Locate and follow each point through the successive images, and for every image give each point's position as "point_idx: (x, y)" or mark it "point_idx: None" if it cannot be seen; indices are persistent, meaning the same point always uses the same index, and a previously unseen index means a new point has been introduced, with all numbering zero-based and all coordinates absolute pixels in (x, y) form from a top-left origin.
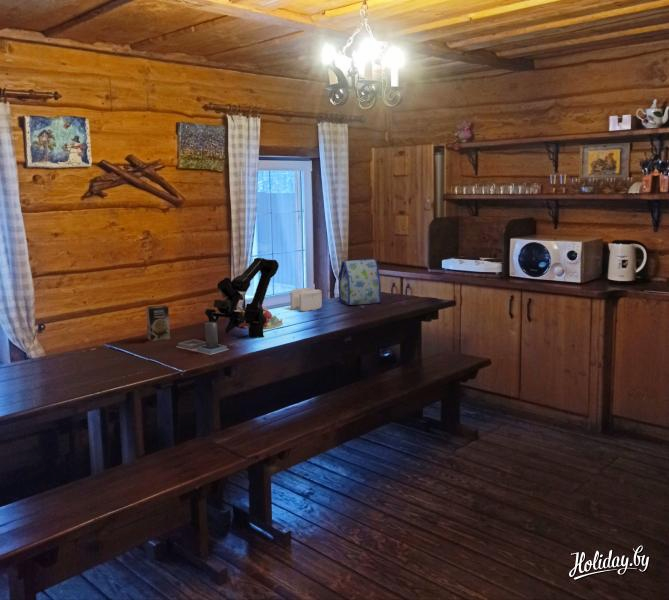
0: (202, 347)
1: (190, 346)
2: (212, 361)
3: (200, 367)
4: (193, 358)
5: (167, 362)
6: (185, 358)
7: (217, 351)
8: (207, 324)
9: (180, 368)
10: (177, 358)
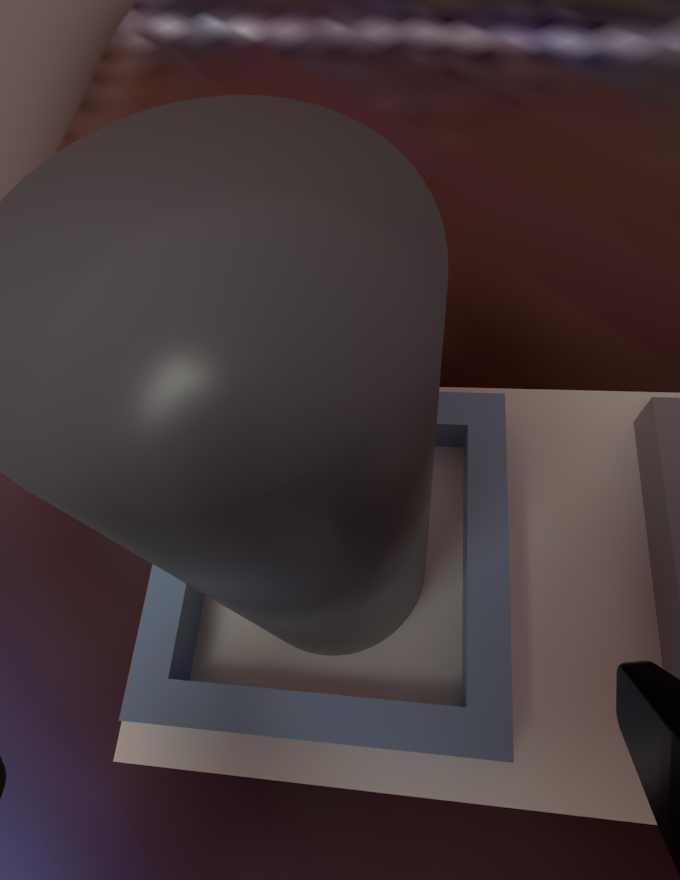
0: (465, 467)
1: (672, 402)
2: None
3: (67, 133)
4: None
5: (448, 70)
6: None
7: None
8: (186, 110)
9: (205, 46)
10: (488, 178)
